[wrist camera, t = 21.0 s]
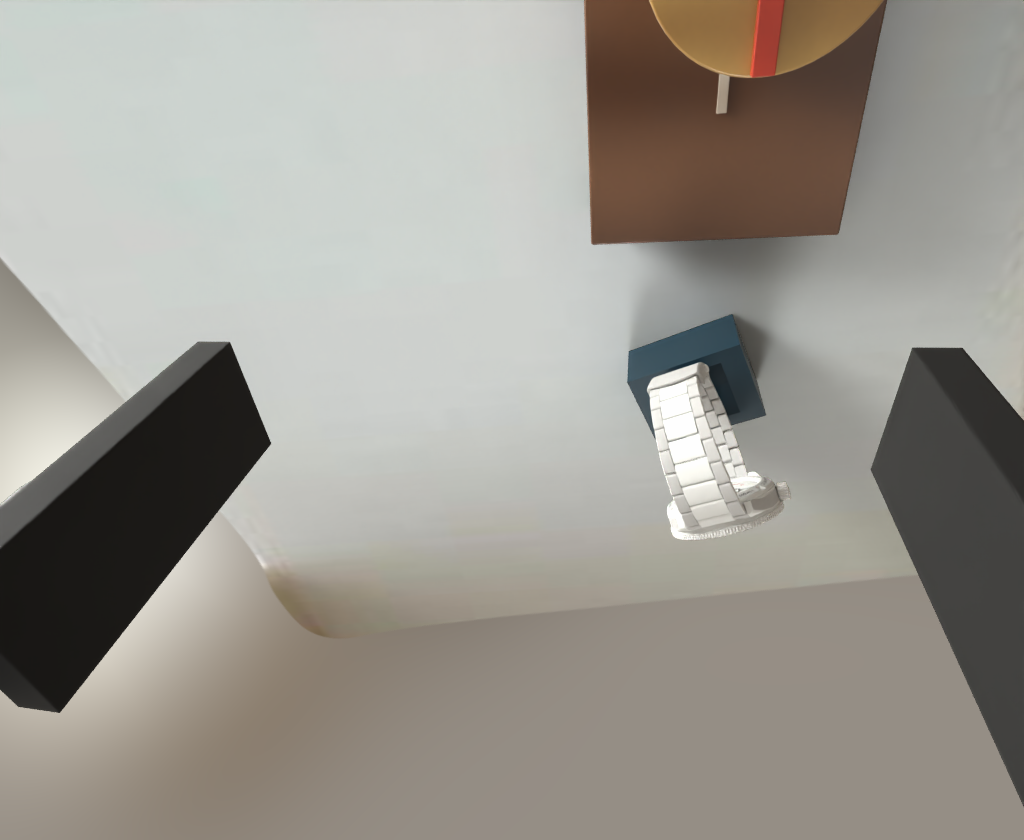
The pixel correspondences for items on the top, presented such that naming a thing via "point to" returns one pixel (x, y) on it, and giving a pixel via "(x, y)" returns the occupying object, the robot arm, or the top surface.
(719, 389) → the watch
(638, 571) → the top surface
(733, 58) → the dial
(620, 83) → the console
